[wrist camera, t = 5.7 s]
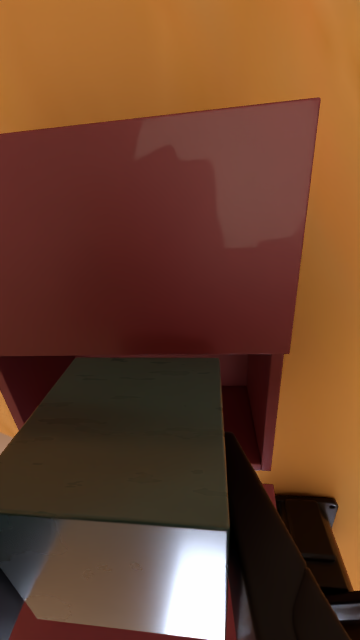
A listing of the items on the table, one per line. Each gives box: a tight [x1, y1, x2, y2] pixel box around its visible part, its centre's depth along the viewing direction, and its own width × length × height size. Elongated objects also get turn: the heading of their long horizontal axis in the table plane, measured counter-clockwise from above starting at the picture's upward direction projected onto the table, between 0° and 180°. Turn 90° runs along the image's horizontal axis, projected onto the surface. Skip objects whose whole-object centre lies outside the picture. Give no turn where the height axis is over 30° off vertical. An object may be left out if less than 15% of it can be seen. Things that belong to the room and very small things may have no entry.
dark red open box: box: [0, 97, 320, 471], centre depth 14 cm, size 15×13×7 cm
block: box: [0, 357, 230, 640], centre depth 7 cm, size 4×4×4 cm
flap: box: [9, 484, 277, 640], centre depth 12 cm, size 7×13×1 cm
